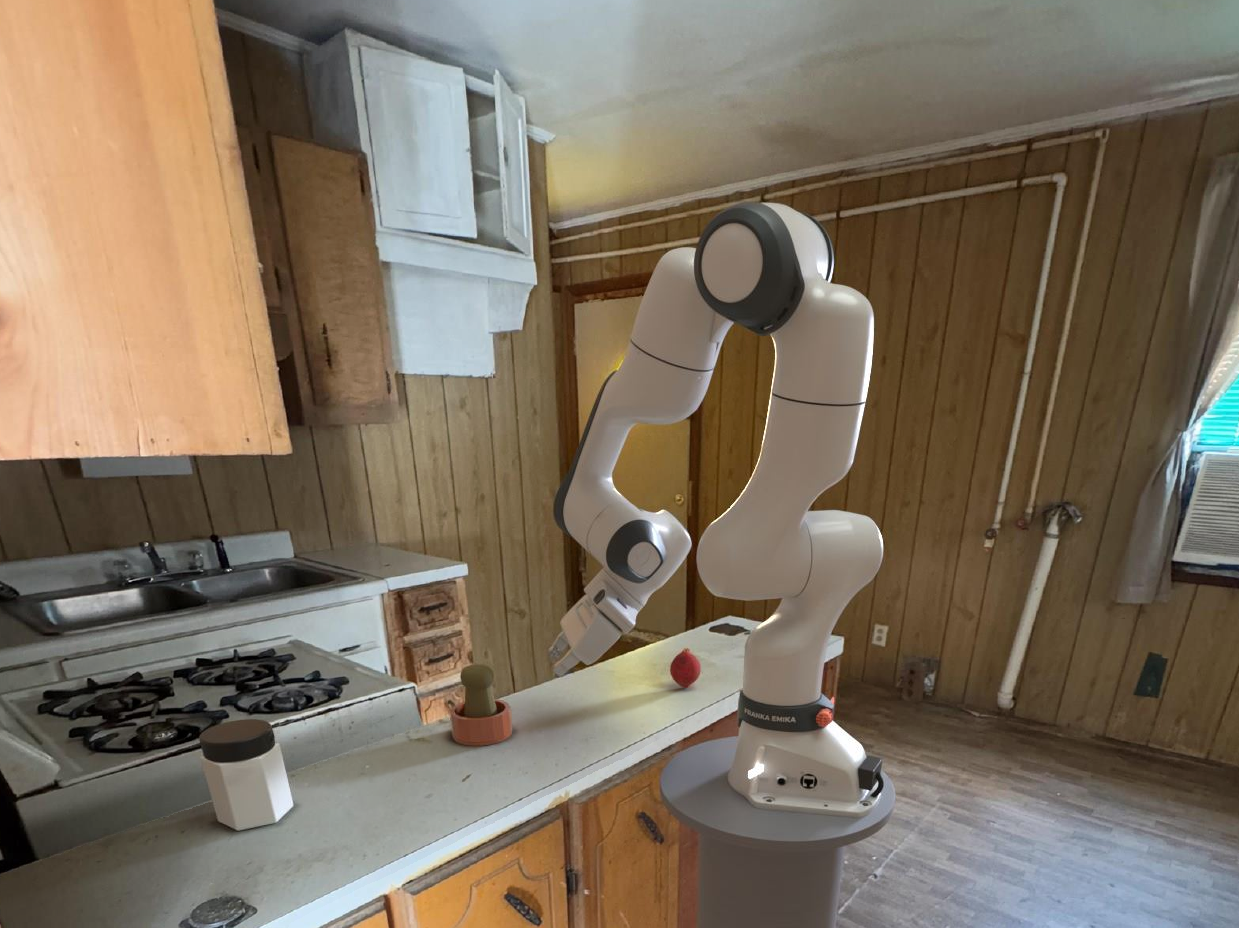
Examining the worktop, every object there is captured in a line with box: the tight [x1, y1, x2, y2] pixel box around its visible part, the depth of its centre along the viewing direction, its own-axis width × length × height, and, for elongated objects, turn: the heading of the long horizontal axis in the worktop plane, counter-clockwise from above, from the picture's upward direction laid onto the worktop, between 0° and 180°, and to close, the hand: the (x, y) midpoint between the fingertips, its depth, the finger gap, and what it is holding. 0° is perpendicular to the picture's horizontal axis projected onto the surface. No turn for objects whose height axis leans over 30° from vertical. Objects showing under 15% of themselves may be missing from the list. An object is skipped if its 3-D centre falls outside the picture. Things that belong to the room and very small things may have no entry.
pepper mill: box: [460, 663, 498, 718], centre depth 120 cm, size 6×6×11 cm
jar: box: [198, 718, 294, 832], centre depth 95 cm, size 9×8×12 cm
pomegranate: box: [669, 646, 702, 689], centre depth 141 cm, size 6×6×8 cm
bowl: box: [448, 698, 513, 747], centre depth 121 cm, size 10×10×4 cm
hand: (553, 664), depth 120 cm, fingers open, 8 cm apart
